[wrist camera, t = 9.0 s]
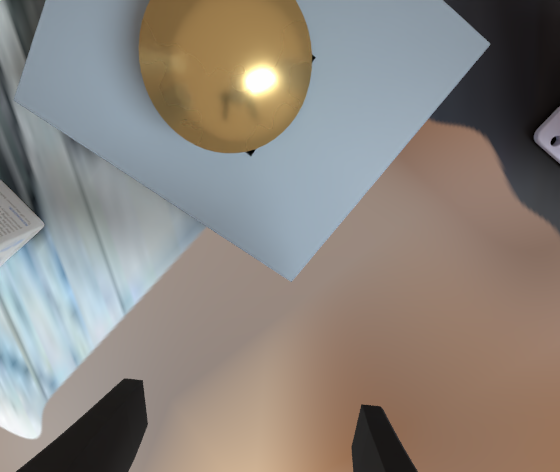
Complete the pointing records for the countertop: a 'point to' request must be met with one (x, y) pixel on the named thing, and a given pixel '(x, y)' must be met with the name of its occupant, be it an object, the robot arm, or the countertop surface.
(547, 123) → the robot arm
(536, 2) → the countertop surface
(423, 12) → the block
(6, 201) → the light bulb box
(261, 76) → the brass door knob
